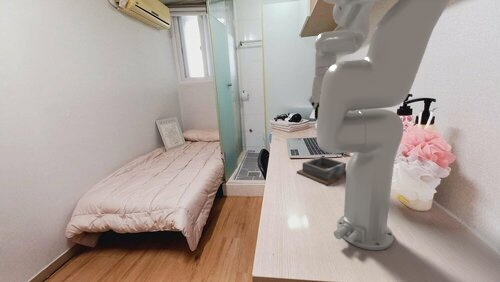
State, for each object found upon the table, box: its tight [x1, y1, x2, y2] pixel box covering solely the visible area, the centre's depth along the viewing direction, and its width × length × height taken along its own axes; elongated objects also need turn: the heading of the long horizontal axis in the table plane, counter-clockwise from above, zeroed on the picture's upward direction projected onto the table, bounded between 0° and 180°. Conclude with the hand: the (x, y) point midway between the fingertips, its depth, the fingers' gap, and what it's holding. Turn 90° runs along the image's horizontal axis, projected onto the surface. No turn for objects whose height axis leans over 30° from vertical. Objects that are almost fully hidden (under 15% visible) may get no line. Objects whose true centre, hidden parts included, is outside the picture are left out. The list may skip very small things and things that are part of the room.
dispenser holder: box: [296, 155, 347, 186], centre depth 88 cm, size 16×16×5 cm
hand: (324, 118), depth 83 cm, fingers closed on soap dispenser, 5 cm apart
